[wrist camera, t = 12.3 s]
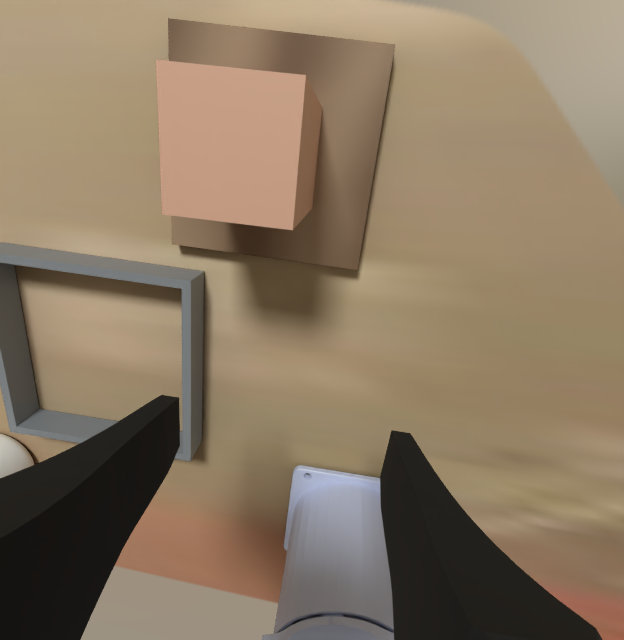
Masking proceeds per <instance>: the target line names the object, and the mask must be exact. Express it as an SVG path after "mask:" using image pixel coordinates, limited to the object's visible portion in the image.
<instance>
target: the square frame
mask: <svg viewBox="0 0 624 640" xmlns="http://www.w3.org/2000/svg"><path fill="white" fill-rule="evenodd" d="M14 265H21V266H28V267H35V268H42V269H48V270H55V271H62V272H69V273H76V274H83V275H90V276H97V277H104V278H111V279H117V280H124V281H131V282H138V283H145V284H152V285H159V286H166V287H173V288H180V289H182V404H183V432H181V431H180V447H179V449H178V451H177V454H176V456H175V458H174V459H179V460H185V461H191V460H192V458H193V456H194V454H195V452H196V451H197V449H198V447H199V445H200V443H201V441H202V390H203V322H204V271H199V270H192V269H185V268H178V267H170V266H163V265H156V264H149V263H142V262H135V261H128V260H121V259H114V258H107V257H100V256H93V255H86V254H79V253H72V252H65V251H58V250H51V249H44V248H37V247H30V246H23V245H16V244H9V243H0V386H1V391H2V395H3V400H4V405H5V409H6V414H7V419H8V423H9V428H10V432H15V433H21V434H27V435H33V436H39V437H45V438H51V439H57V440H63V441H69V442H76V443H82V442H84V441H85V440H87V439H89V438H91V437H93V436H94V435H96V434H98V433H100V432H102V431H103V430H105V429H107V428H109V427H110V426H112V425H114V424H115V423H117V422H119V421H112V420H106V419H100V418H94V417H87V416H81V415H75V414H69V413H63V412H56V411H50V410H44V409H39V404H38V398H37V392H36V387H35V381H34V375H33V369H32V364H31V358H30V352H29V347H28V341H27V335H26V329H25V324H24V318H23V312H22V306H21V301H20V295H19V289H18V283H17V278H16V272H15V266H14Z"/></svg>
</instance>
